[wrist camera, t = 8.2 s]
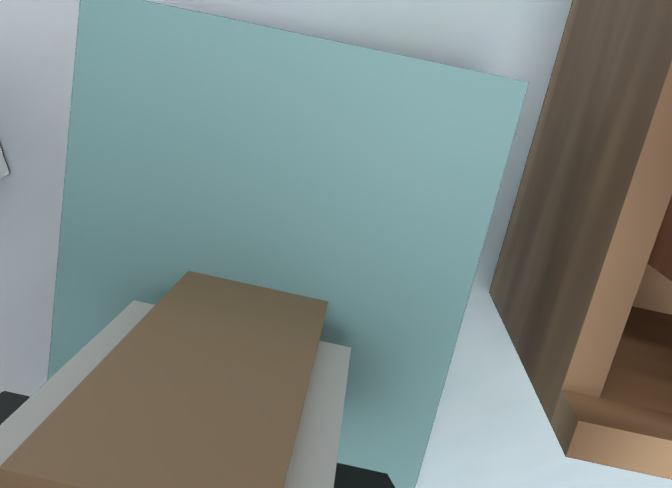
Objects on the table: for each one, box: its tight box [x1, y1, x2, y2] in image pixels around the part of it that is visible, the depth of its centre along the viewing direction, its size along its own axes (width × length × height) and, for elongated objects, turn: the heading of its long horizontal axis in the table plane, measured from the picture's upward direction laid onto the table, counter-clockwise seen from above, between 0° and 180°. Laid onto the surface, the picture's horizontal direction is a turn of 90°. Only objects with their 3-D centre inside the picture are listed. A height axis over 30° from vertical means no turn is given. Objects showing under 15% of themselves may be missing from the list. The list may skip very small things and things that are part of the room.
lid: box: [0, 0, 529, 488], centre depth 13 cm, size 10×15×10 cm, turn 168°
